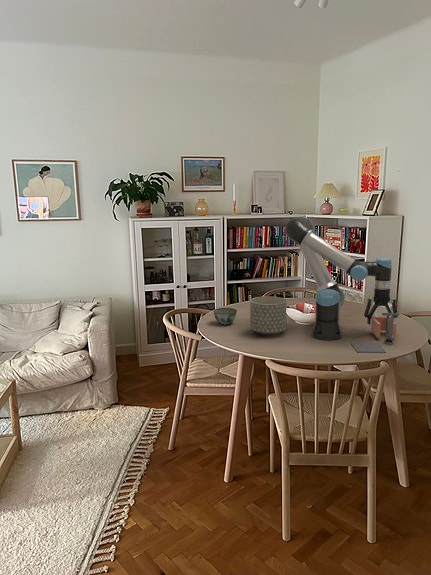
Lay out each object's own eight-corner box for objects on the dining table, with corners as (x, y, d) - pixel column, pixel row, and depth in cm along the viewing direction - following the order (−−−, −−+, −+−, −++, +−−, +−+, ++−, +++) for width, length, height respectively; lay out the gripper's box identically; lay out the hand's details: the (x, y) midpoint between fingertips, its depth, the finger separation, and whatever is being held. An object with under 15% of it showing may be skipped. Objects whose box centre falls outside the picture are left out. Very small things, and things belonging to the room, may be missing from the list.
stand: (382, 344, 204) (383, 314, 201) (379, 341, 208) (381, 312, 205) (398, 344, 203) (400, 314, 200) (395, 341, 207) (397, 312, 204)
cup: (392, 325, 233) (393, 306, 231) (373, 325, 235) (374, 306, 233) (388, 321, 243) (390, 302, 241) (370, 320, 245) (371, 302, 243)
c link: (376, 337, 209) (377, 323, 208) (369, 329, 222) (370, 316, 220) (395, 337, 208) (396, 323, 207) (387, 329, 221) (388, 316, 220)
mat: (357, 352, 193) (357, 351, 193) (350, 343, 206) (350, 342, 206) (386, 352, 192) (386, 351, 192) (377, 343, 205) (377, 342, 205)
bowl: (211, 326, 240) (210, 312, 238) (216, 320, 252) (216, 307, 251) (234, 327, 236) (234, 313, 235) (239, 321, 249) (238, 308, 248)
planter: (287, 329, 231) (288, 297, 228) (283, 339, 213) (284, 305, 210) (253, 327, 236) (253, 295, 233) (247, 337, 218) (247, 303, 215)
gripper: (362, 289, 212) (360, 332, 217) (406, 289, 210) (403, 332, 215) (358, 286, 220) (356, 328, 224) (401, 286, 218) (398, 328, 222)
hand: (379, 330), depth 219 cm, fingers closed on c link, 9 cm apart
